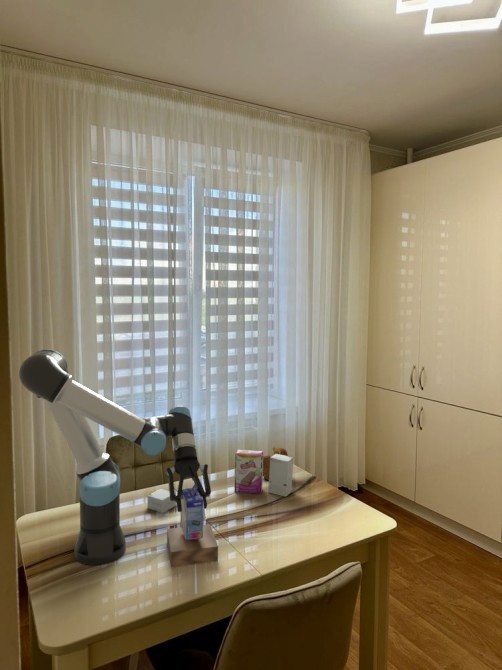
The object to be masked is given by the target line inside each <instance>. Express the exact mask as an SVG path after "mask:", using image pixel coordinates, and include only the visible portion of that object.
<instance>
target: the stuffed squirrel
mask: <svg viewBox="0 0 502 670" xmlns="http://www.w3.org/2000/svg"><path fill="white" fill-rule="evenodd" d="M272 450H273V455H275V454H279V455H285V456H288V457H290V456H289V454H288V451H287V450H286V449H285V448H283V447H275V446H274V447H272ZM270 457H271V455H263V478H264V479H265V480H267V481H269V472H270Z"/></svg>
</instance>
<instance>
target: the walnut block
mask: <svg viewBox="0 0 502 670" xmlns="http://www.w3.org/2000/svg"><path fill="white" fill-rule="evenodd" d="M166 544H167V551H168V556H169V562H170V567H171V568H173V567H174V568H175V567H182V566H190V565H197V564H198V565H199V564H205V563H212V562H218V561H219V545H218V543H217V539H216V537H215V534H214V531H213V528H212V526H211V523H208V524H203V538H199V539H191V540H186V539H185V536H184V533H183V531H182V528H181V526H180V527H174V528H166Z"/></svg>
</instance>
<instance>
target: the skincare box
mask: <svg viewBox="0 0 502 670" xmlns="http://www.w3.org/2000/svg"><path fill="white" fill-rule="evenodd" d="M288 456H289V455H288ZM288 456H285V455H279V454H275V455H274V454H273V455H272V456H270V472H269V480H268V490H267V493H268V494H274V495H277V496H282V497H285V498H286V497H287V496H289V494H291V493H292V489H293V487H292V486H293V474H294V473H293V472H294V460H295V459H294V457H292V456H289V457H288Z"/></svg>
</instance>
